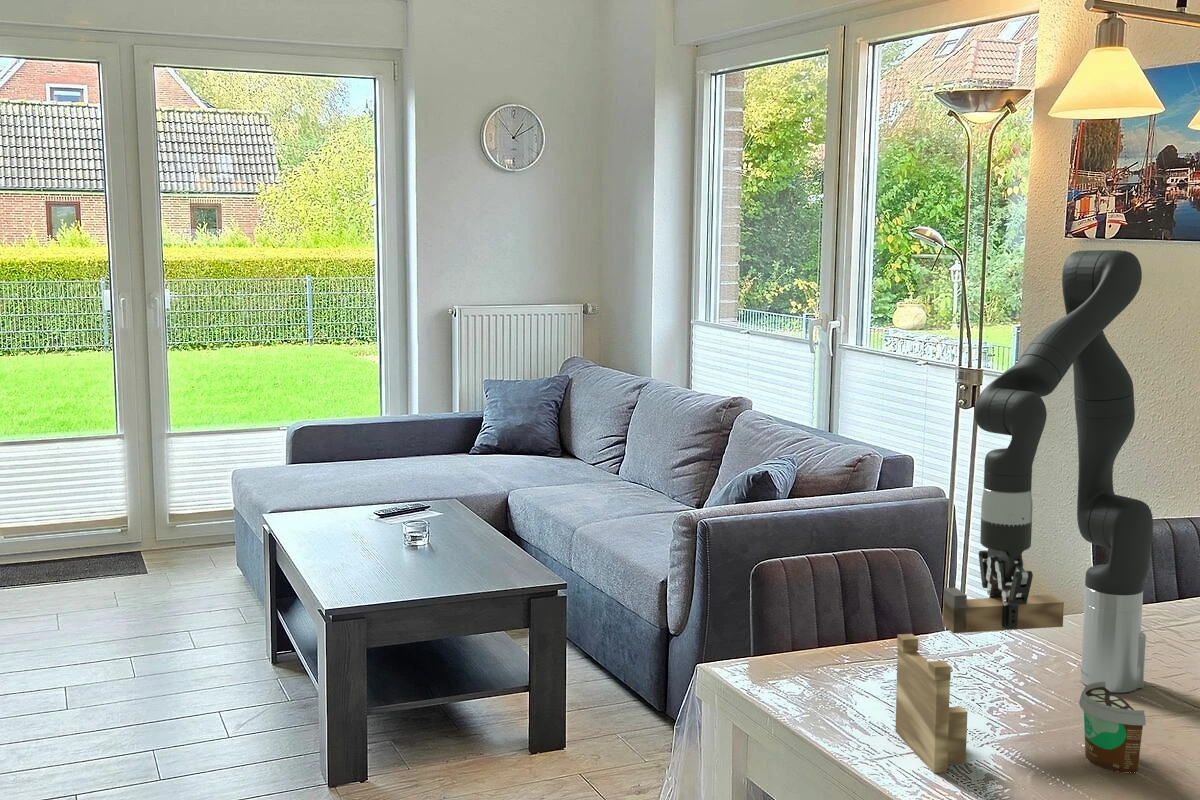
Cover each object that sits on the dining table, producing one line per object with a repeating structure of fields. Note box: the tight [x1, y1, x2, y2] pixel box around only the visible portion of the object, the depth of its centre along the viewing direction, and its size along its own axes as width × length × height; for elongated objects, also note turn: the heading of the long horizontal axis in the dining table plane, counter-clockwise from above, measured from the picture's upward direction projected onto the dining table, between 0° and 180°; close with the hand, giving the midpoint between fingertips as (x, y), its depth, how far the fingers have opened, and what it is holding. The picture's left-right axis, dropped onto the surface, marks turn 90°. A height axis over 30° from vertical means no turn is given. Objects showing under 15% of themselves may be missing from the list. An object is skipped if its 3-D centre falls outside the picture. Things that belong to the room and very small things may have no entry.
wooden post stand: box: [895, 633, 968, 774], centre depth 182 cm, size 6×15×16 cm, turn 8°
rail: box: [942, 587, 1065, 634], centre depth 189 cm, size 18×4×6 cm, turn 98°
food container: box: [1078, 681, 1146, 774], centre depth 179 cm, size 12×6×10 cm, turn 5°
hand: (1002, 622), depth 189 cm, fingers closed on rail, 4 cm apart
